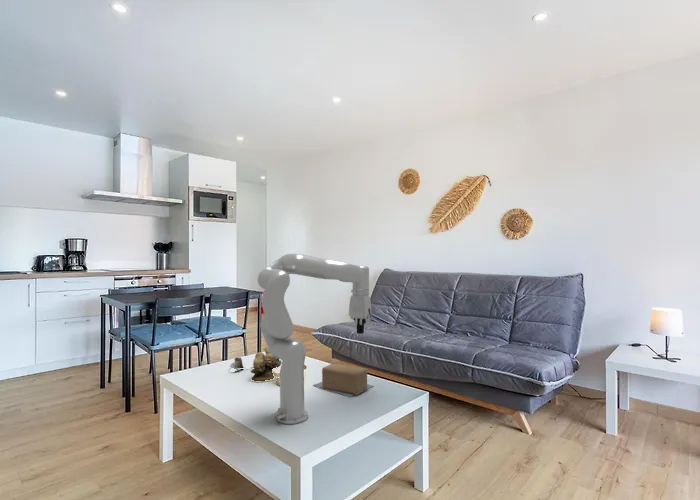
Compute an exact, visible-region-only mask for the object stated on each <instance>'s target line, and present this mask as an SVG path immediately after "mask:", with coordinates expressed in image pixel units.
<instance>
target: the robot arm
mask: <svg viewBox="0 0 700 500" xmlns="http://www.w3.org/2000/svg"><path fill="white" fill-rule="evenodd" d="M290 275H298V276H304V277H308V278H315V279H321V280H334V281H335V280H336V281H337V280H338V281H339V282H342V283H352V289H351V291H350V292H351V293H352V295H351V296H350V298H349V305H348V316H349V317H350V319H351V320H353V321H354V323H355V325H356V334H359V335H360V334H364V333H365V332H364V331H365V325H366V323H367V322H370V321H371V317H372V301H371V296H370V268H369V267H368V266H367V265H356V264H353V263H351V264H350V263H347V262H342V261H336V260H331V259H326V258H323V257H317V256H316V257H315V256H312V255H307V254H304V253H303V254H302V253H286V254H284V255H282V256H281V257H280V258H278V259H276V260H274V261H273V262H272V263H270V264H269V265H267V266H266V267H265V268H263V269H262V270H261V271H260V272H259V273H258V275H257V283H258V285H259V286H260V288H261V289H263V290H264V291H263V294H262V297H261V306H262V309H263V313H264V315H263V316H262V318H261V320H260V324H259V325H260V330H261V334H262V336H263V339H264V341H265V343H266V346H268V348H269V350H270V352H271V353H272V355H273V356H275V357H277V358H279V360H281V362H282V364H281V365H280V369H279V371H280V378H279V400H280V401H279V406H280V407H278V408H277V411H276V412H274V413H271V414H270V416H269V417H270V420H274V419H276V420H277V422H279V423H281V424H285V425H293V424H295V425H296V424H300V423H303V422H305V421H306V420H307V419H309V412H308V411H306V410H305V360H306V357H307V356H306V355H307V352H306V351H307V350H306V346H305V345H304V343H303V342H302V341H301V340H299V339H298V338H296V337H292V335H293V333H294V322H293V320H292V318H291V316H290V313H289V311H288V308H287V306H286V303H285V294H286V292H287V289H288V288H289V287H290V284H291V283H290V282H291V276H290Z"/></svg>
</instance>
